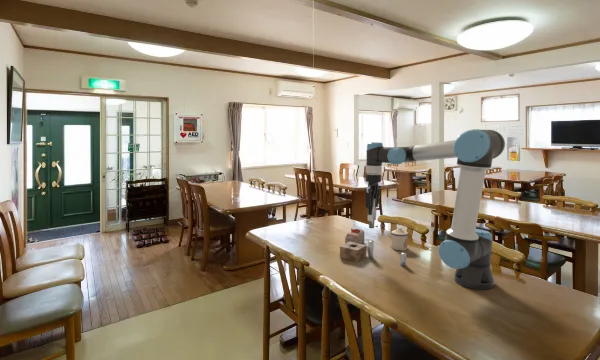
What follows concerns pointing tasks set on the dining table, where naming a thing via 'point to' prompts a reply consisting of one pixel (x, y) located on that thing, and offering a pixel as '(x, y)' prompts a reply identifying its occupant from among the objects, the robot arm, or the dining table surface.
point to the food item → (355, 236)
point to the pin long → (371, 223)
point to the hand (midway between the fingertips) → (371, 220)
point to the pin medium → (370, 249)
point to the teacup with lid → (399, 239)
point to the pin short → (403, 259)
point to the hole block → (353, 251)
